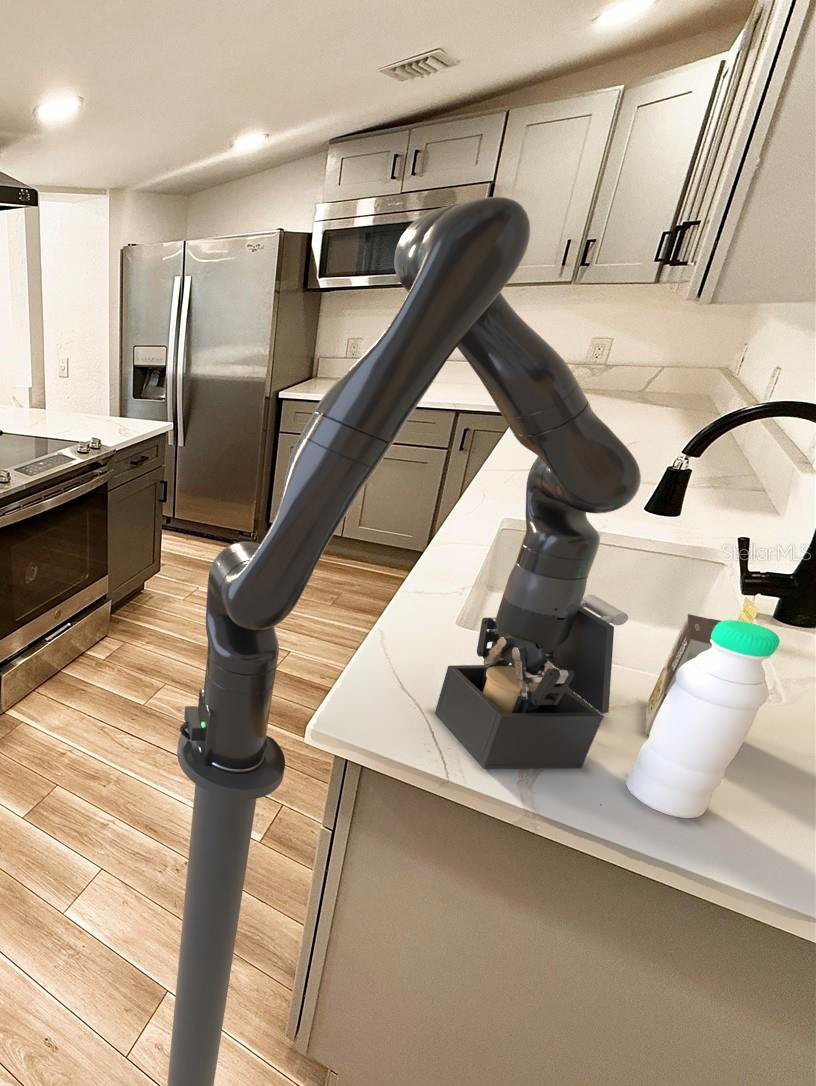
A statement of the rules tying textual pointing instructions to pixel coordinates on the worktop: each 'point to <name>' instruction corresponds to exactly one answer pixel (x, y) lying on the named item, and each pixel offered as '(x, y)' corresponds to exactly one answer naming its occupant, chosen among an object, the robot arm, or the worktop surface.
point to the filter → (503, 687)
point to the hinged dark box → (515, 725)
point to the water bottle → (703, 721)
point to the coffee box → (680, 660)
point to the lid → (591, 651)
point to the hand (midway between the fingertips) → (504, 704)
